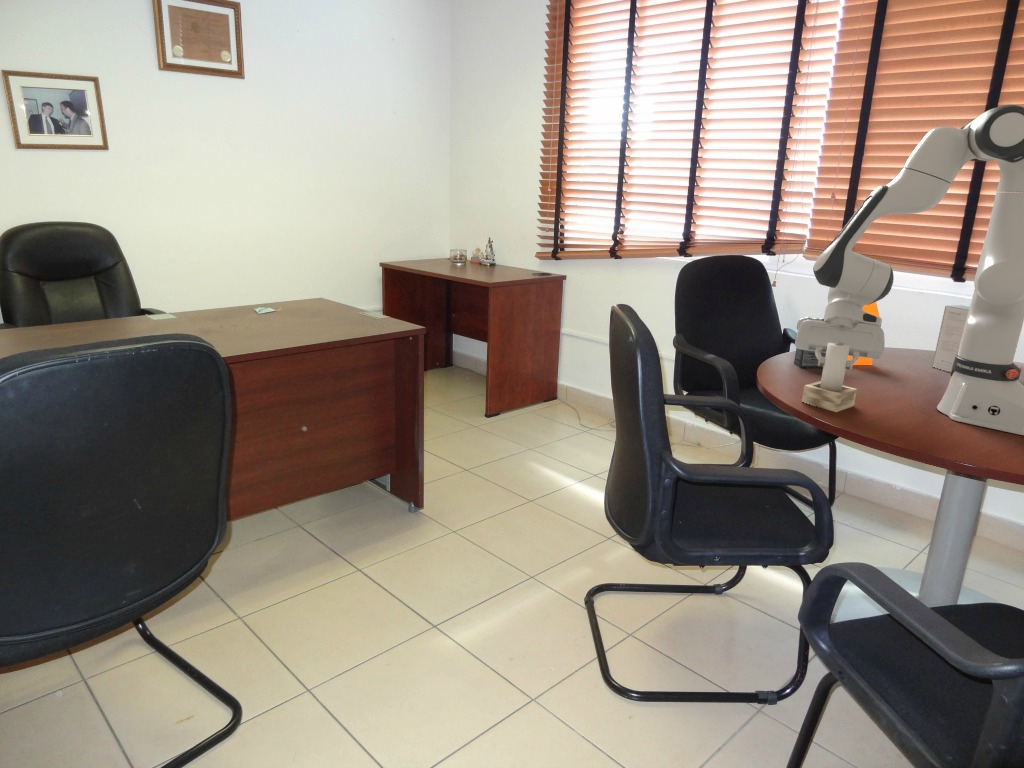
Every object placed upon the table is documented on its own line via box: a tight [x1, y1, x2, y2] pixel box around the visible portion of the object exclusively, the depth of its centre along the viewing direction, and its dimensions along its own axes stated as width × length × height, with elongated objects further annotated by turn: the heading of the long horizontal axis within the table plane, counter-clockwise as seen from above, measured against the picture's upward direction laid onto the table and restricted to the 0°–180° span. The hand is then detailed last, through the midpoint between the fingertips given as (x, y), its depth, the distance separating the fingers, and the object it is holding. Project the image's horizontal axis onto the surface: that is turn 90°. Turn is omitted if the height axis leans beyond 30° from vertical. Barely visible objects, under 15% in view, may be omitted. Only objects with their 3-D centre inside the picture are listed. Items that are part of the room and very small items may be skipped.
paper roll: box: [820, 342, 850, 392], centre depth 164 cm, size 5×5×12 cm
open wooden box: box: [801, 380, 858, 413], centre depth 166 cm, size 9×9×4 cm
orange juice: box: [847, 301, 881, 365], centre depth 207 cm, size 8×9×20 cm
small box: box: [793, 347, 826, 370], centre depth 202 cm, size 11×6×10 cm, turn 84°
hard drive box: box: [931, 304, 970, 373], centre depth 200 cm, size 16×8×20 cm, turn 22°
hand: (834, 366), depth 163 cm, fingers closed on paper roll, 5 cm apart
